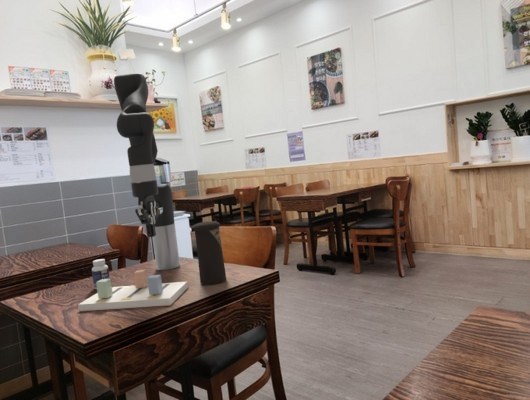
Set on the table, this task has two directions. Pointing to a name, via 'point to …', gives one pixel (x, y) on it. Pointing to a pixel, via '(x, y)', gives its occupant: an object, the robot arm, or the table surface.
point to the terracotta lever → (140, 278)
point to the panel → (135, 297)
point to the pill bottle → (99, 271)
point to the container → (209, 253)
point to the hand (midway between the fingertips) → (151, 236)
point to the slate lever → (154, 284)
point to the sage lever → (104, 288)
